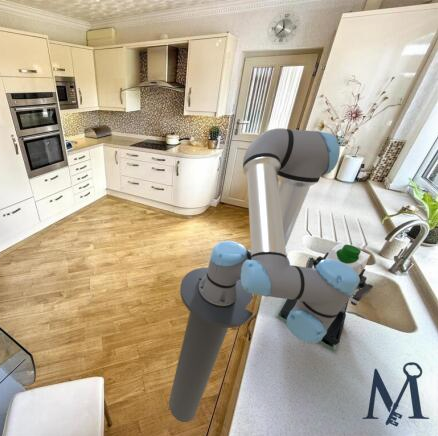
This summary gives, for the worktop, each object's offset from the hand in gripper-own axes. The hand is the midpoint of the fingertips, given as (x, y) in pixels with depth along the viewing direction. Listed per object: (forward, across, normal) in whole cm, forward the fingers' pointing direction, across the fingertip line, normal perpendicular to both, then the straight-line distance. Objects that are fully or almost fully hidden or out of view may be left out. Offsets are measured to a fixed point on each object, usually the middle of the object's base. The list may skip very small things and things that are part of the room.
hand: (343, 263), depth 76 cm
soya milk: (-5, 0, -11) cm, 12 cm away
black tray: (-3, 0, -26) cm, 26 cm away
